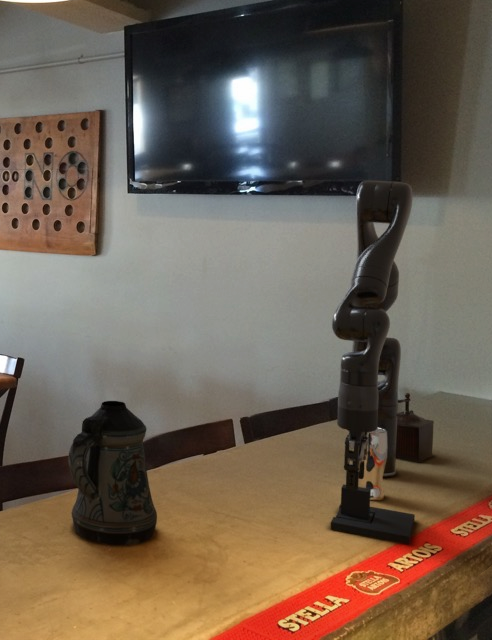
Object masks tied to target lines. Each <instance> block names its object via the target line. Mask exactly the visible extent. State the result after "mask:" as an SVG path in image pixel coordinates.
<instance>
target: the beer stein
mask: <svg viewBox="0 0 492 640" xmlns="http://www.w3.org/2000/svg"><path fill="white" fill-rule="evenodd" d="M146 432H147V426H146V424H144V422H143V420H141V419H140V418H139V417H138V416H137V415H135V414H134V412H132V411H131V410H129V408H128V407H127V405H126V402H124V401H120V400H105V401H103V402H101V404H100V407H99V408H98V409H97V410H96V411H95V412H94V413H93V414H92V415H91V416H88V417H85V418H84V419H83V421H82V423H81V432H80V433H78V434H77V435H76V436H75V437H74V438H73V440H72V443H71V445H70V448H69V451H68V459H67V462H68V469H69V473H70V475H71V478H72V480H73V483H74V484H75V486H76V487H77V488H78V491H77V495H76V499H75V502H74V504H73V506H72V508H71V518H72V522H73V528H74V531H75V533H76V534H77V535H78V536H80V537H82V538H83V539H85V540H87V541H89V542H92V543H97V544H102V545H108V546H132V545H139V544H142V543H145V542H147V541H149V540H150V539H152V538H153V536H154V534H155V531H156V525H157V523H158V522H157V521H158V513H157V510H156V507H155V505H154V501H153V497H152V492H151V489H150V482H149V477H148V470H147V462H146V455H145V448H144V447H145V446H144V439H145V437H146V434H147V433H146Z"/></svg>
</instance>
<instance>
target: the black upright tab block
mask: <svg viewBox="0 0 492 640" xmlns="http://www.w3.org/2000/svg"><path fill="white" fill-rule="evenodd" d="M340 489H341V490H340V494H341V495H340V504H341V508H340V510H339V509H338V512H337V514H336V516H335V517H337V518H343V519H348V520H354V521H359V522H364V523H370V524H371V523H372V521H373V518H374V513H370V507H371V500H370V489H368V488H362V487H358V490H357V491H353V490H348V489H347V488H346V484H342V485H341V488H340Z"/></svg>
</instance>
